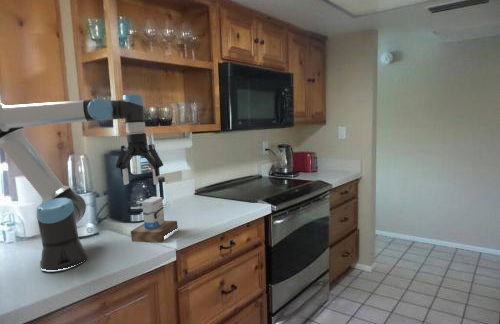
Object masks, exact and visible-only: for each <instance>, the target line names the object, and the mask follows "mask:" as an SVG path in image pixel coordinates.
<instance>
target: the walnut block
mask: <svg viewBox="0 0 500 324" xmlns="http://www.w3.org/2000/svg"><path fill="white" fill-rule="evenodd" d="M177 228H178V229H179V226H178V221H177V220H164V223H163V224H161V225H160V226H158V227H157V228H155V229H148V228H145V226H144V223H142V224H141V225H139V226H137V227H135V228H134V229H132V230H130V237H131V242H136V243H138V242H139V243H153V244H155V243H158V244H162V243H163V242H164V241H165V240H164V236H165V235H167V234H168V233H170V232H172V231H173V230H175V229H177Z"/></svg>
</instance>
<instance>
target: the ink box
mask: <svg viewBox="0 0 500 324" xmlns="http://www.w3.org/2000/svg"><path fill="white" fill-rule="evenodd" d="M141 205H142V213H143V224H144V226H145V228H148V229H155V228H157V227H158V226H160V225H161V224H163V223H164V221H165V214H164V213H165V212H164V202H163V197H162V196H161V197H160V196H151V197H149V198H147V199H145V200H142V204H141Z"/></svg>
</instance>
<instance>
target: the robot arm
mask: <svg viewBox="0 0 500 324" xmlns="http://www.w3.org/2000/svg"><path fill="white" fill-rule="evenodd" d="M144 106H145V105H144V102H143V97H142V95H140V94H133V93H132V94H130V93H129V94H123V95H122V99H118V100H114V99H113V100H107V99H105V98H101V97H100V98H99V97H98V98H97V97H96V98H93V99H85V100H84V99H82V100H81V99H79V100H69V101H55V102H54V101H53V102H42V103H41V102H40V103H27V104H13V105H11V104H10V105H5V104H3V103H1V102H0V148H1V149H2V150H3V151H4V153H5V154H6V155H7V156H8V158H9V159H10V160H11V161H12V163H14V165H15V166H16V168H17V169H18V170H19V171H20V172H21V173H22V175H23V176H24V177H25V179H26V180H27V181H28V182H29V183H30V185H31V186H32V188H34V190H35V191H36V192H37V193H38V195H39V196H40V198H41V199H42V200H41V203H40V204H39V205H38V206H37V208H36V219H37V225H38V229H39V233H40V239H41V244H42V251H41V258H40V259H41V260H40V262H39V266H40V267H39V268H40V269H41V268H42V269H46V270H58V269H63V268H68V267H71V266H74V265H77V264H79V263H81V262H83V261H84V260H86V261H87V259H88V254H87V251H86V249H84V247H83V244H82V242H81V240H80V238H79V231H78V226H77V225H78V222H79V221H81V220H82V219H83V217H84V216H85V213H86V211H87V203H86V201H85V199H84V198H83V197H82V196H81V195H80V194H78V193H75V191H74V190H73V189H72V188H71V186H68V185H64V184H63V183H62V182H61V181H60V179H59V178H58V177H57V175H56V174H55V173H54V171H53V170H52V169H51V168H50V166H49V165H48V164H47V162H46V161H45V160H44V159H43V157H42V156H41V155H40V154H39V152H38V151H37V149H35V147H34V146H33V145H32V143H31V142H30V141H29V140H28V138H27V137H26V135H25V130H26V127H39V126H47V125H49V126H50V125H59V124H71V123H72V124H73V123H81V122H82V123H83V122H94V121H95V122H96V121H108V120H110V121H112V120H124V121H125V132H126V133H127V135H126V143H127V145H126V144H124V145H121V146H120V153H119V156H118V159H117V161H116V165H115V167H116V169H120V176H121V177H122V178H123V179H122V180H123V185H124V186H126V185H129V184H130V179H129V169H128V168H127V166H128V165H129V164H130V162H131V160H132V159H133V157H137V156H138V157H143V158H145V159H146V160H147V162H148V163H149V164H150V166H152V169H151V170H152V177H153V178H152V179H153V180H152V181H153V185H154V186H156V185H158V184H160V183H159V176H160V175H161V174H160V168H162V167H164V163H163V161H162V159H161V157H160V156H159V153H158V152H157V150H156V147H155V144H153V143H152V144H149V145H148V144H147V140H148V139H147V134H146V123H145V119H146V118H145V110H144V109H145V108H144ZM148 150H149V151H148ZM128 151H129V152H128ZM127 152H128V153H127ZM126 154H127V156H126ZM83 263H84V262H83Z"/></svg>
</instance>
